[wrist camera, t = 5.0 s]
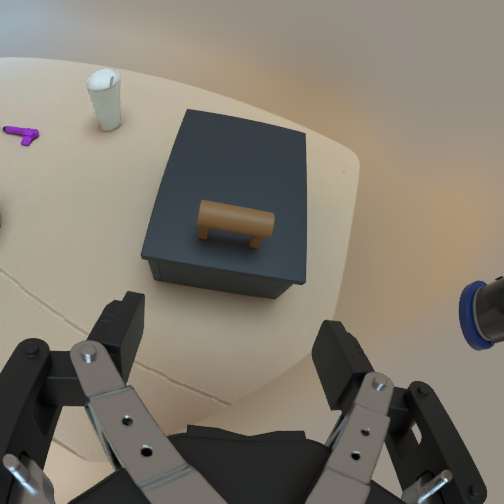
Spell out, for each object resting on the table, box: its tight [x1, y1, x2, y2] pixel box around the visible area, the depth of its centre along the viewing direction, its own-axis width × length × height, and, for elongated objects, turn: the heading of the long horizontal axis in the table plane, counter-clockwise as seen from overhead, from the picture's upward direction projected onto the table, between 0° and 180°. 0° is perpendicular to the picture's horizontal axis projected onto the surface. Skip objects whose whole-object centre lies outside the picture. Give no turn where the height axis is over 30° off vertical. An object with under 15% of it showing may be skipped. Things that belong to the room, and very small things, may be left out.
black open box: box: [148, 260, 293, 299], centre depth 30 cm, size 16×13×8 cm
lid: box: [141, 109, 307, 285], centre depth 24 cm, size 17×13×5 cm
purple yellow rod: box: [0, 126, 39, 146], centre depth 31 cm, size 3×1×16 cm
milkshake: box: [86, 68, 121, 131], centre depth 31 cm, size 4×5×10 cm
